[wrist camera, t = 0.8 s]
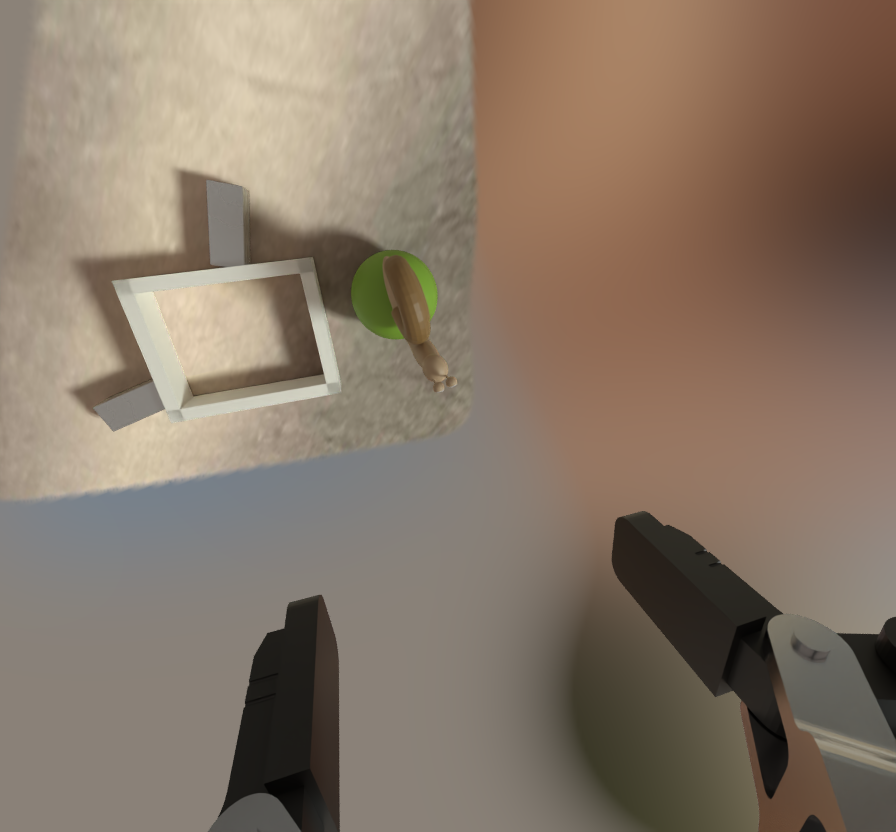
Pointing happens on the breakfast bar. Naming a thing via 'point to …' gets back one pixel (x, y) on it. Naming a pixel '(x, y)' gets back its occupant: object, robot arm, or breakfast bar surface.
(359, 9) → the breakfast bar surface
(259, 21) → the breakfast bar surface
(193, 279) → the white rectangular frame piece
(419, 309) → the snail figurine
